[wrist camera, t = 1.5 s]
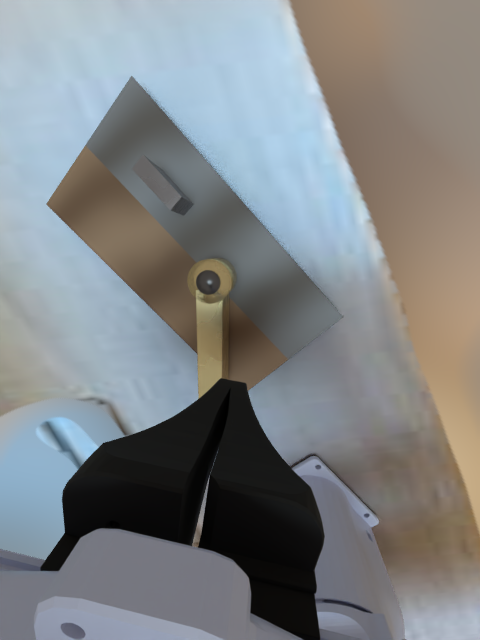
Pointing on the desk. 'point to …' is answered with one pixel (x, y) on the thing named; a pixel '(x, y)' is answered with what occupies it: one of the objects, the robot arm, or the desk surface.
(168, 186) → the block
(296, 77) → the desk surface
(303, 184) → the desk surface
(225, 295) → the lock bar
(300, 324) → the board
